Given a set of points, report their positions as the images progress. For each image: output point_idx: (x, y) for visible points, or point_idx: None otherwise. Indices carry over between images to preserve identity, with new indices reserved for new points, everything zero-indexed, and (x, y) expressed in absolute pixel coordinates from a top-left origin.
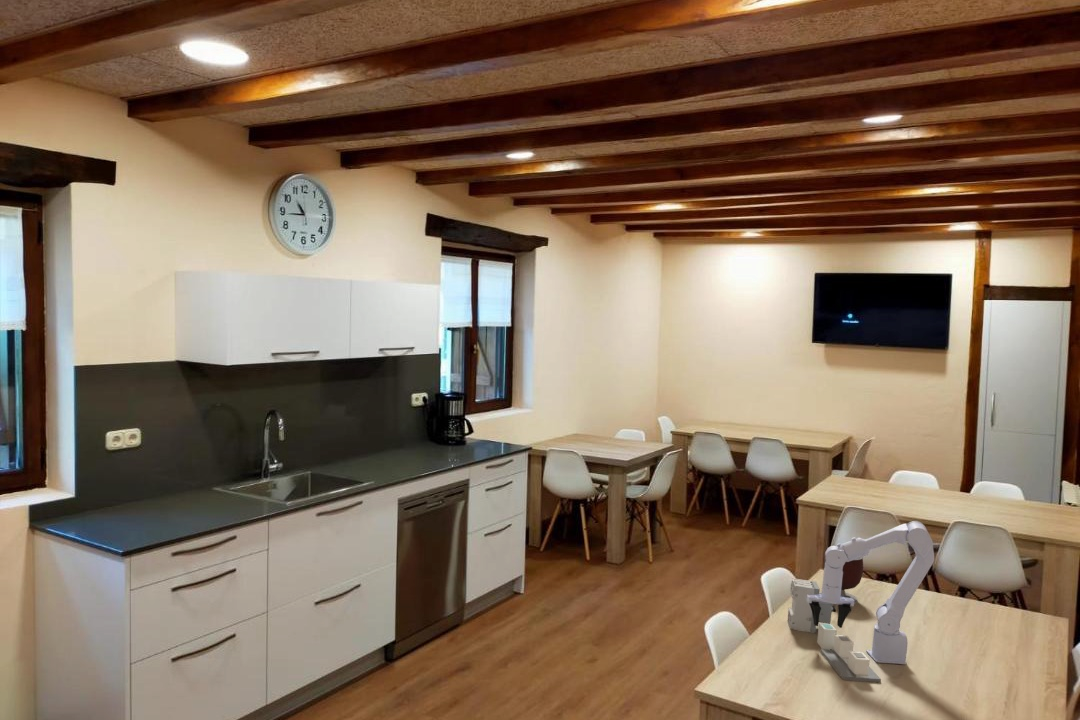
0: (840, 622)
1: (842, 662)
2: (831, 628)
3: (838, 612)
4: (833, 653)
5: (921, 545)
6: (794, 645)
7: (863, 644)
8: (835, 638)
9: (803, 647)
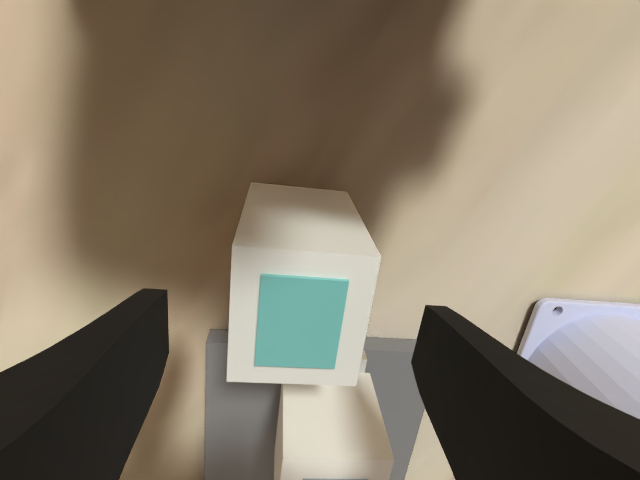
0: (432, 407)
1: (269, 475)
2: (314, 367)
3: (513, 389)
4: (269, 388)
5: None
6: (39, 241)
7: (606, 190)
8: (280, 459)
9: (106, 268)
